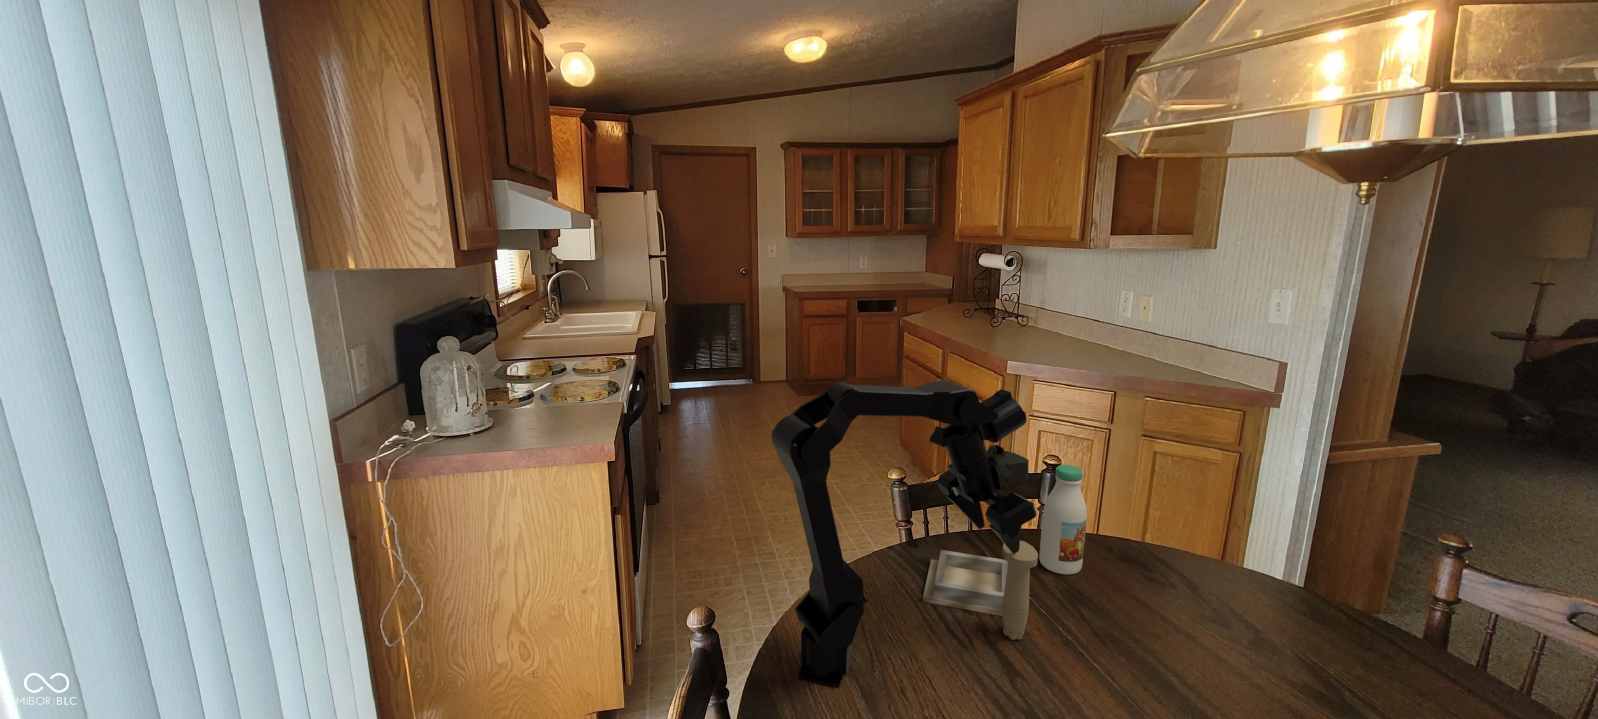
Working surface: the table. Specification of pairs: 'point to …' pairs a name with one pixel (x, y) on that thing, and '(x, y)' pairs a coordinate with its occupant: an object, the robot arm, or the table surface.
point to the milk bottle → (1064, 523)
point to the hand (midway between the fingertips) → (998, 539)
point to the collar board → (967, 582)
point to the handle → (1017, 589)
